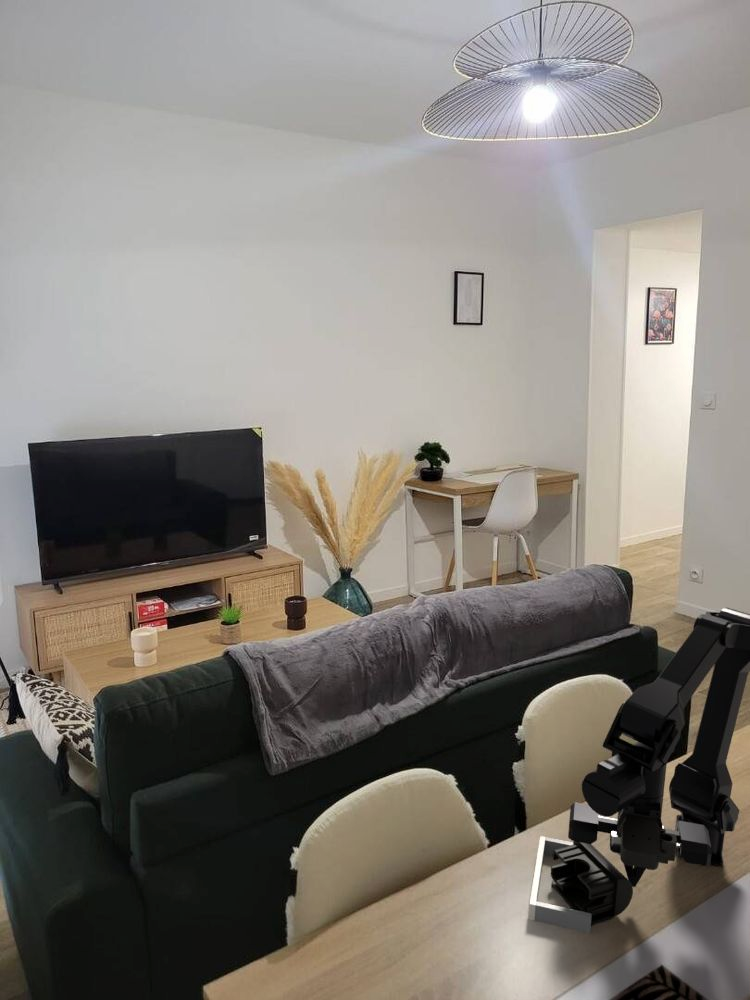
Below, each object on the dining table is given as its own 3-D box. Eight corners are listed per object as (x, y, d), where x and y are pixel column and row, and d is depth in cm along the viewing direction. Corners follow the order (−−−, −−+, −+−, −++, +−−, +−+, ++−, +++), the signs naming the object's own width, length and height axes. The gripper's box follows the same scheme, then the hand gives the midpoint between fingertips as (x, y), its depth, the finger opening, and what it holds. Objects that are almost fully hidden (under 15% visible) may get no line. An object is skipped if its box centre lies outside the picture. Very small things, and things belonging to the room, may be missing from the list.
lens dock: (593, 861, 120) (594, 847, 120) (590, 933, 106) (591, 917, 105) (539, 849, 123) (540, 835, 122) (528, 919, 108) (529, 903, 108)
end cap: (631, 916, 109) (635, 874, 108) (590, 929, 106) (593, 887, 105) (587, 871, 118) (590, 831, 117) (548, 882, 116) (551, 842, 114)
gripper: (570, 807, 103) (562, 909, 106) (722, 835, 97) (709, 941, 101) (573, 764, 113) (566, 858, 116) (711, 786, 108) (700, 884, 111)
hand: (632, 884), depth 111 cm, fingers closed
